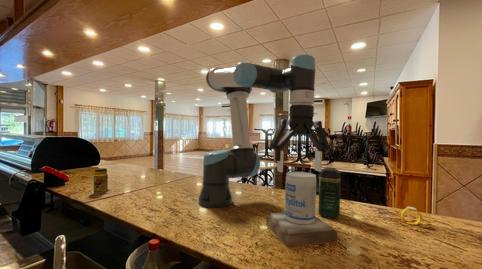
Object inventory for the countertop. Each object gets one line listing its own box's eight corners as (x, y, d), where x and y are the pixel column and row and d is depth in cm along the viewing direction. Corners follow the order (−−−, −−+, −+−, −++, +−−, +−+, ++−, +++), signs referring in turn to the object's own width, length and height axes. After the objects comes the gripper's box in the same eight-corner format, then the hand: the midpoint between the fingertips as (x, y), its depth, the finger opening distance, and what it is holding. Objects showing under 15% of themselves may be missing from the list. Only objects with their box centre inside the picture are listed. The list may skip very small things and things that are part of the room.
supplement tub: (281, 222, 68) (282, 174, 68) (287, 212, 77) (287, 170, 77) (314, 227, 64) (315, 177, 64) (316, 216, 73) (317, 172, 73)
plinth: (266, 224, 76) (266, 212, 76) (307, 220, 80) (307, 209, 80) (287, 247, 61) (287, 232, 61) (336, 241, 65) (337, 228, 65)
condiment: (92, 194, 106) (93, 170, 107) (92, 191, 113) (92, 167, 113) (109, 192, 111) (110, 169, 111) (108, 189, 118) (108, 166, 118)
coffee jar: (340, 220, 81) (341, 170, 81) (317, 217, 84) (318, 168, 84) (339, 212, 90) (340, 167, 90) (319, 209, 93) (320, 165, 93)
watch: (418, 224, 80) (419, 208, 80) (422, 227, 77) (424, 210, 77) (399, 221, 82) (400, 205, 81) (402, 223, 79) (404, 207, 79)
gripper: (269, 101, 64) (267, 174, 64) (342, 106, 70) (340, 172, 70) (261, 104, 71) (258, 169, 71) (327, 108, 77) (325, 168, 77)
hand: (299, 171), depth 71 cm, fingers open, 13 cm apart
